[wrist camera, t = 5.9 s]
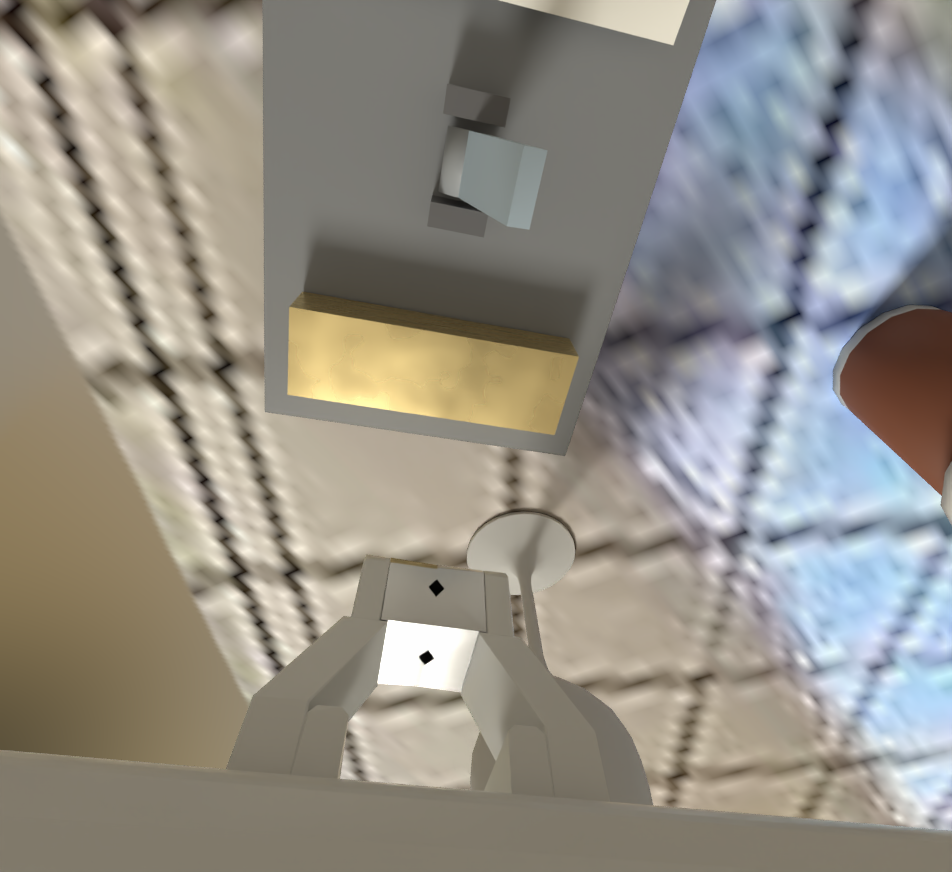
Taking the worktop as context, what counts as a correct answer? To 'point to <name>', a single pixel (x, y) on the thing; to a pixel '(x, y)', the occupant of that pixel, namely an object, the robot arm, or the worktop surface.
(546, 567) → the wineglass
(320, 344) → the gold rectangular block
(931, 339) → the coffee cup
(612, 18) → the white slab
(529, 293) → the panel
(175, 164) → the worktop surface
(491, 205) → the paddle
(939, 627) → the worktop surface
